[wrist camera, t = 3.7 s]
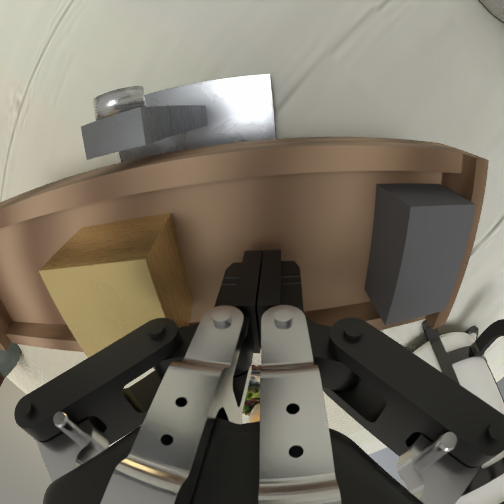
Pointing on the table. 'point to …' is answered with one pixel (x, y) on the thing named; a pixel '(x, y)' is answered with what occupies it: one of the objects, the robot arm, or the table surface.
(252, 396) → the burger
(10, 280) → the beam
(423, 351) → the coffee press
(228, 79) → the pivot stand
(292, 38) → the table surface
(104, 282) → the brass block
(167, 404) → the robot arm
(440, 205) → the block
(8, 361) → the bottle
